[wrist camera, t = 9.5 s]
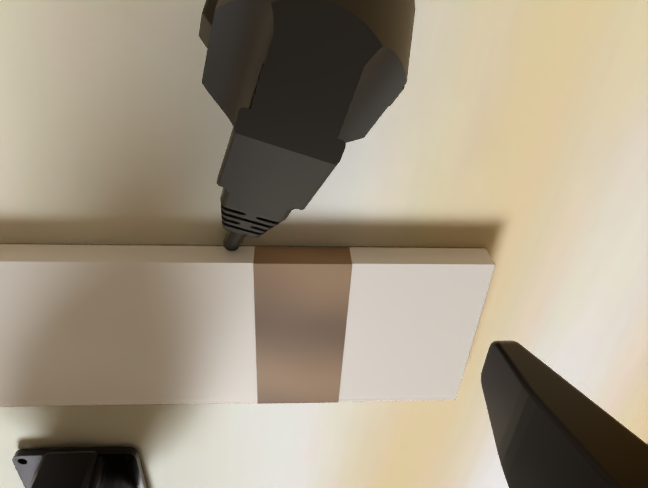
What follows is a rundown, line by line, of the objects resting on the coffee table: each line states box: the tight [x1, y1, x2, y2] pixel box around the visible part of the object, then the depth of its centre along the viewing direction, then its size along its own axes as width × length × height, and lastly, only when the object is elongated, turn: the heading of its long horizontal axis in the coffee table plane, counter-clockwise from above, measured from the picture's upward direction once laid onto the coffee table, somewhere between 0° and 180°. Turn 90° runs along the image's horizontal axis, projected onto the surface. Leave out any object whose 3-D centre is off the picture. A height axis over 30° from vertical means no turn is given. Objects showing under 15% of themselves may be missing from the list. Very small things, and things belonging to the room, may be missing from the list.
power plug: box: [199, 0, 415, 251], centre depth 17 cm, size 6×8×12 cm
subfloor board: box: [0, 244, 495, 407], centre depth 23 cm, size 8×28×1 cm, turn 87°
